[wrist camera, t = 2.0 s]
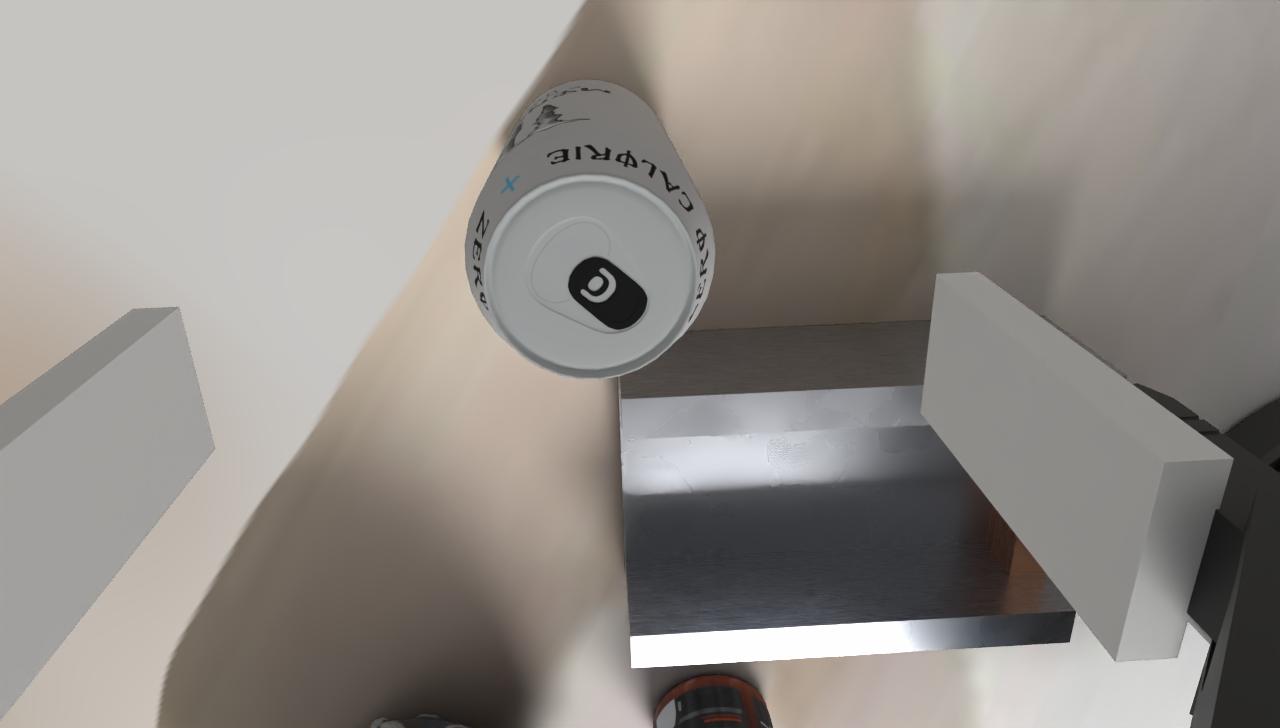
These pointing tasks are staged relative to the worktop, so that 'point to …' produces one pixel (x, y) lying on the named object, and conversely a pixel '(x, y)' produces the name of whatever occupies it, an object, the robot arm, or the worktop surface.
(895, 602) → the channel
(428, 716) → the black thick disc
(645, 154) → the energy drink can
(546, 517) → the worktop surface
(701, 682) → the supplement bottle
